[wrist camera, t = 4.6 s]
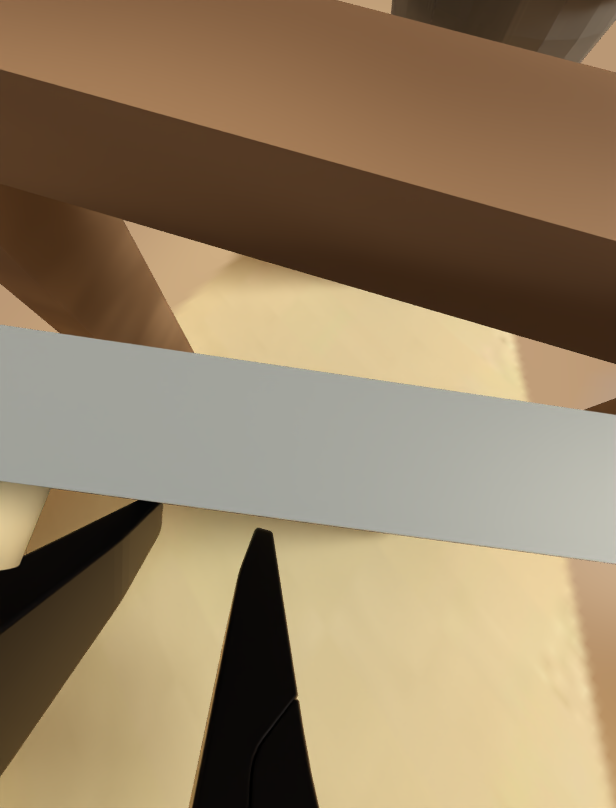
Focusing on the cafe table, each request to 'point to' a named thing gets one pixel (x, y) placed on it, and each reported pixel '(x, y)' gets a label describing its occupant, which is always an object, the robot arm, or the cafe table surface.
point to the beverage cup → (520, 22)
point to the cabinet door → (296, 448)
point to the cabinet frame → (303, 163)
